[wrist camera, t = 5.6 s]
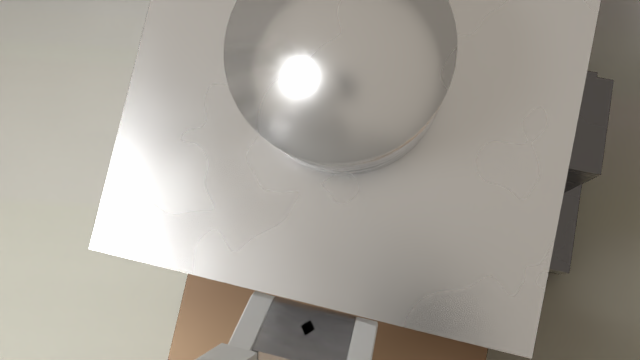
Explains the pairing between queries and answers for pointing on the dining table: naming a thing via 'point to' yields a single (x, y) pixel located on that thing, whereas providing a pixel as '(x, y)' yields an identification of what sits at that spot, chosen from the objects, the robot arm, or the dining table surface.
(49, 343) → the dining table surface
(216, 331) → the beam
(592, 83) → the fulcrum
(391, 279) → the block
